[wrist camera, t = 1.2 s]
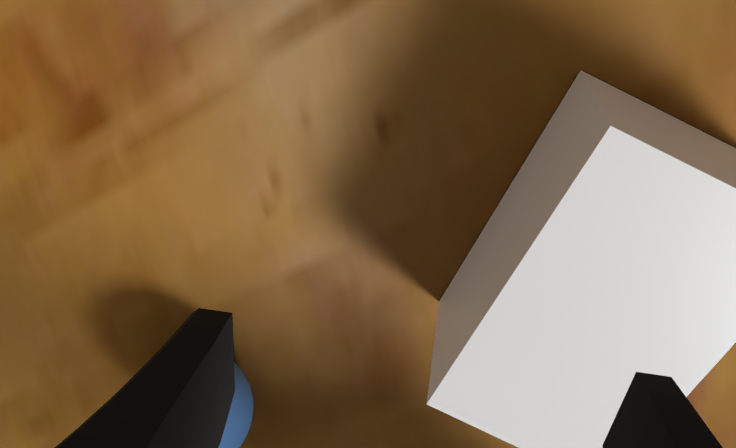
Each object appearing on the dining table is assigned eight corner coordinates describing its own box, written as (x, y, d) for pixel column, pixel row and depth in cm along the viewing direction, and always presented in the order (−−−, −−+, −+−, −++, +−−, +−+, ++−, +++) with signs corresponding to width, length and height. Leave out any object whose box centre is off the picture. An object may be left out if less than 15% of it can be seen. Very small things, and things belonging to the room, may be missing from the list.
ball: (285, 354, 29) (248, 438, 24) (246, 432, 31) (205, 523, 27) (176, 303, 29) (118, 378, 24) (144, 386, 31) (86, 469, 26)
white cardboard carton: (580, 69, 22) (610, 125, 17) (749, 155, 22) (831, 236, 17) (438, 301, 26) (426, 404, 21) (580, 369, 27) (603, 487, 21)
